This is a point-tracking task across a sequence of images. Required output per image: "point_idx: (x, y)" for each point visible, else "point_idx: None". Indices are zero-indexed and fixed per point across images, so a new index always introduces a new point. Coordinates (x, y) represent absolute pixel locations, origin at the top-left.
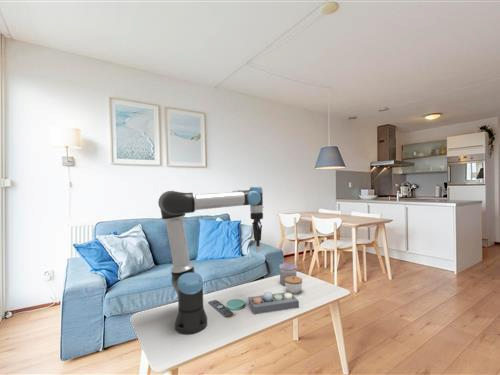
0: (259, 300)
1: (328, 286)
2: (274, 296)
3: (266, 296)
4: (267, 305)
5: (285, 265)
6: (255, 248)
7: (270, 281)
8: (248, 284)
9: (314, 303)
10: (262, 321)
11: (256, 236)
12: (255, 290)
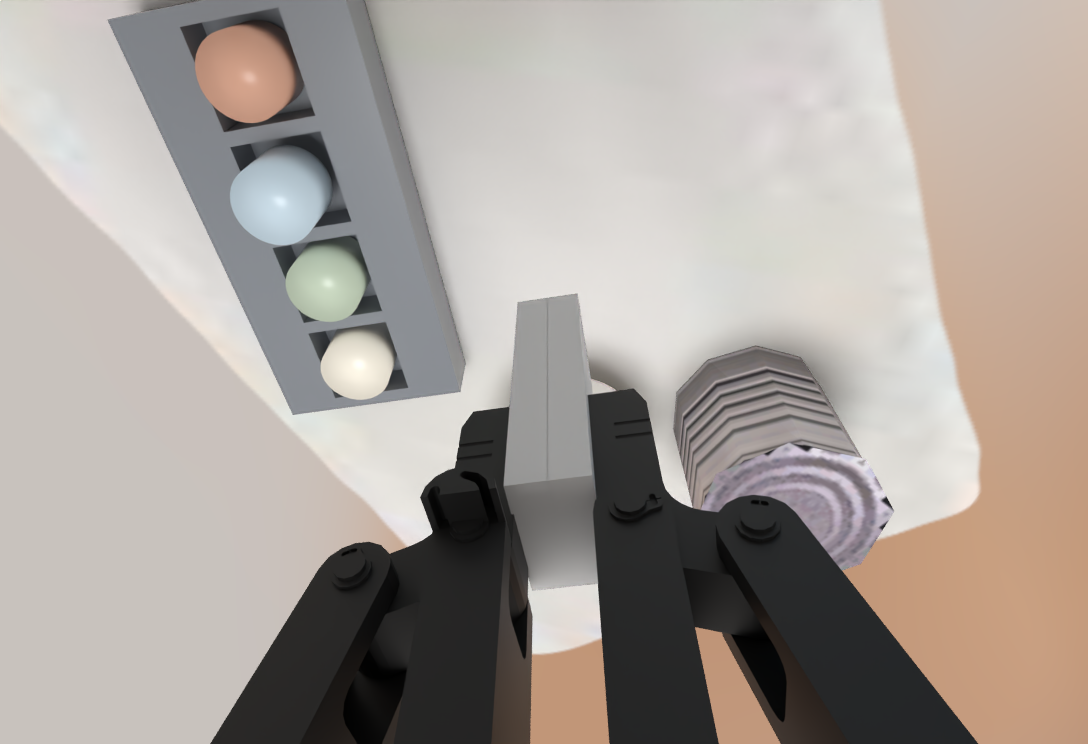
0: (209, 97)
1: None
2: (312, 257)
3: (235, 183)
4: (175, 164)
5: (825, 505)
6: (533, 340)
7: (848, 272)
8: (862, 13)
9: (368, 482)
10: (34, 77)
11: (410, 667)
12: (668, 84)
